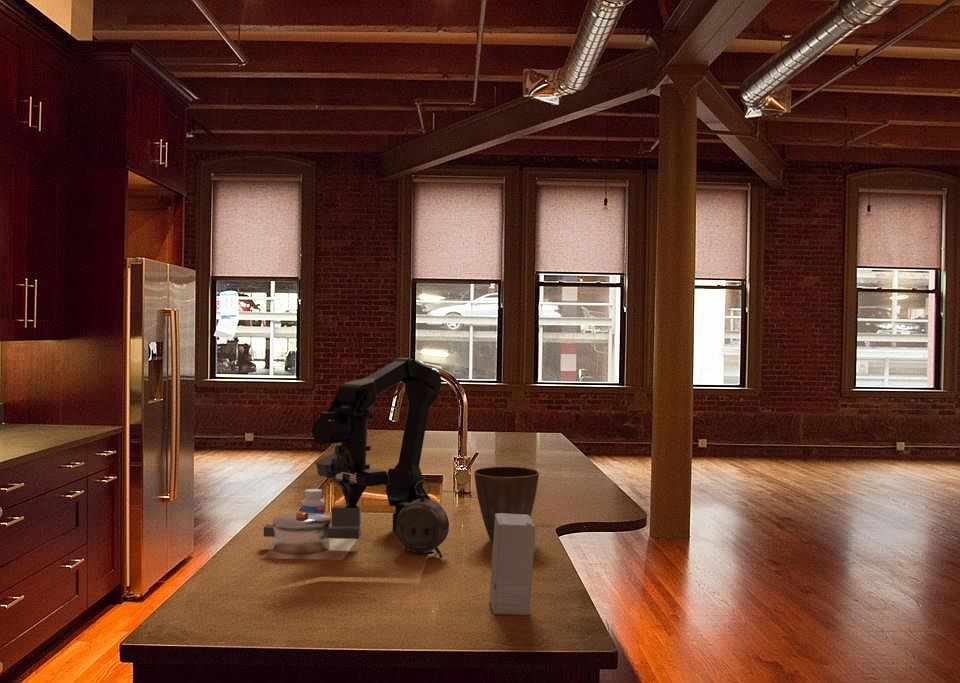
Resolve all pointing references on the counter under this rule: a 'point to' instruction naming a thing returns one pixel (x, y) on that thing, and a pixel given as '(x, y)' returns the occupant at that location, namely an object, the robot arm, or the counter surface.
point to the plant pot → (505, 492)
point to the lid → (320, 519)
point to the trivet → (334, 553)
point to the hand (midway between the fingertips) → (350, 511)
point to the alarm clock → (422, 525)
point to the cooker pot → (307, 538)
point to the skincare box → (512, 564)
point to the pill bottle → (313, 501)
